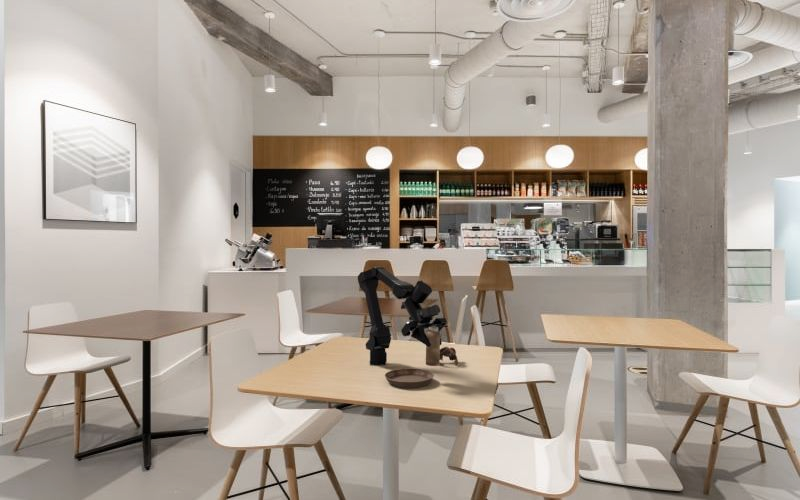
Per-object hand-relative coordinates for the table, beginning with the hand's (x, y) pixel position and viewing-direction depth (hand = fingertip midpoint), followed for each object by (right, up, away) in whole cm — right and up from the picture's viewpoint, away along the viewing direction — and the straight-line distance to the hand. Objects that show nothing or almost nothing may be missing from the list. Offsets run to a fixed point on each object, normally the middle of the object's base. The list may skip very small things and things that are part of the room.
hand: (435, 345), depth 172 cm
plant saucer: (-9, -14, +1) cm, 17 cm away
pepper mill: (-1, -7, +1) cm, 7 cm away
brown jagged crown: (+7, -14, +28) cm, 32 cm away
